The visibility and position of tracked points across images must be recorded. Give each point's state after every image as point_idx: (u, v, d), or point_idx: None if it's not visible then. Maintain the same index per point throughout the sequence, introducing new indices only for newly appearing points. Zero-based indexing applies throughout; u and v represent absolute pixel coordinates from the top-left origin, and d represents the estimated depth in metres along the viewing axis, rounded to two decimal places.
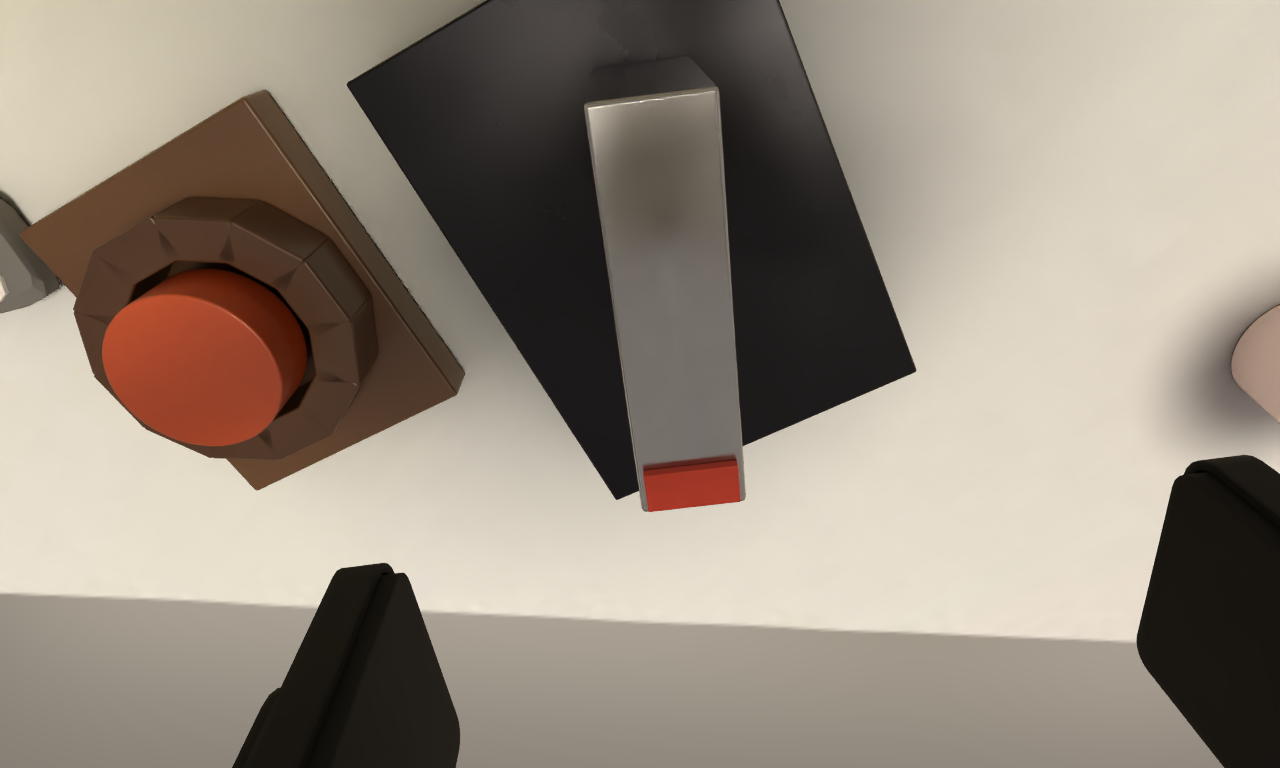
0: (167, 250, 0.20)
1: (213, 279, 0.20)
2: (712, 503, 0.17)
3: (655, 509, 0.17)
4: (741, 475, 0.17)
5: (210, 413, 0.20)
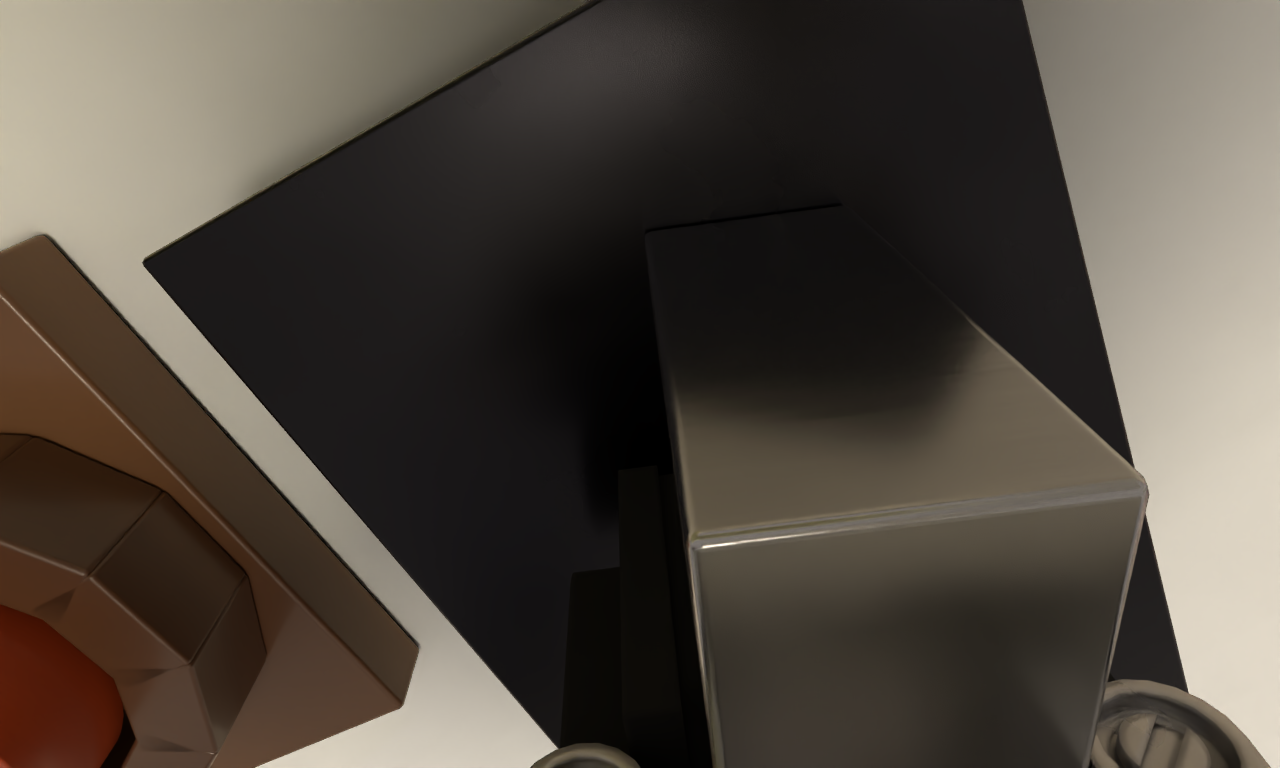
0: None
1: None
2: None
3: None
4: None
5: None
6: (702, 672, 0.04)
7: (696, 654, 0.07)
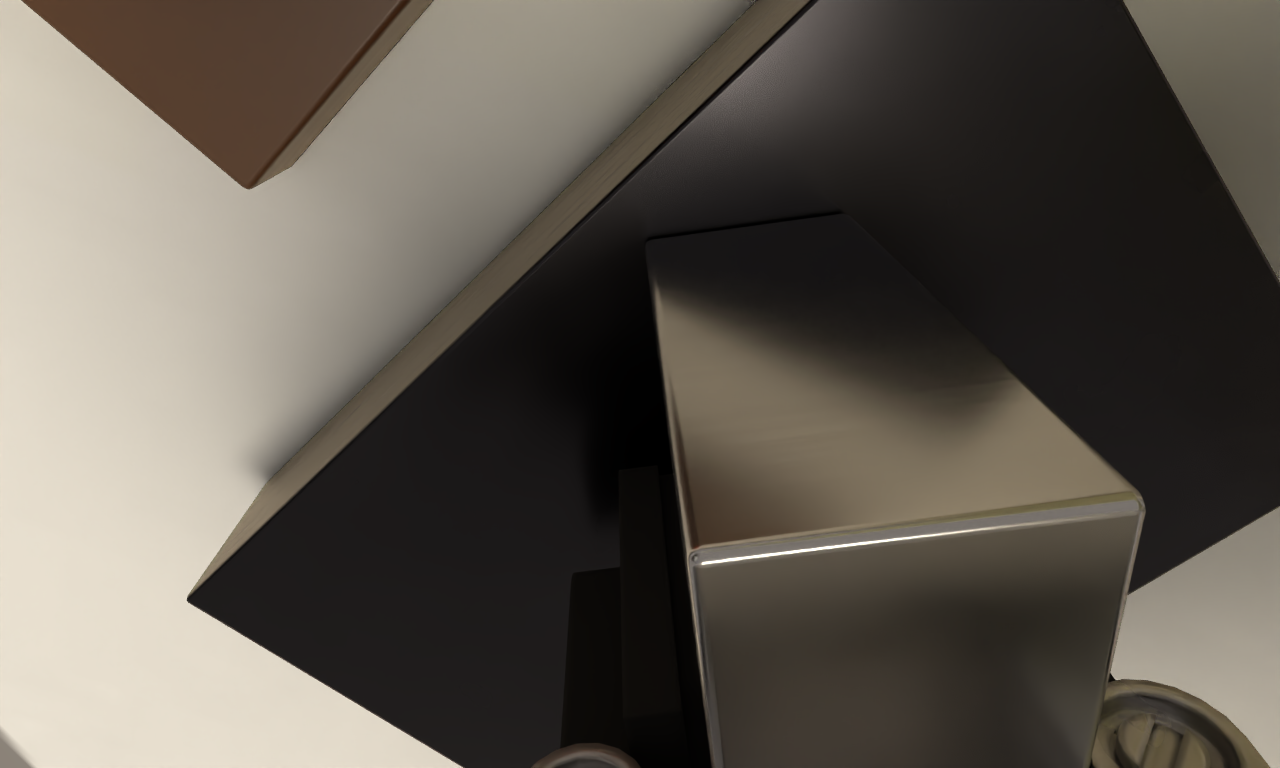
0: None
1: None
2: None
3: None
4: None
5: None
6: (702, 685, 0.04)
7: (696, 654, 0.07)
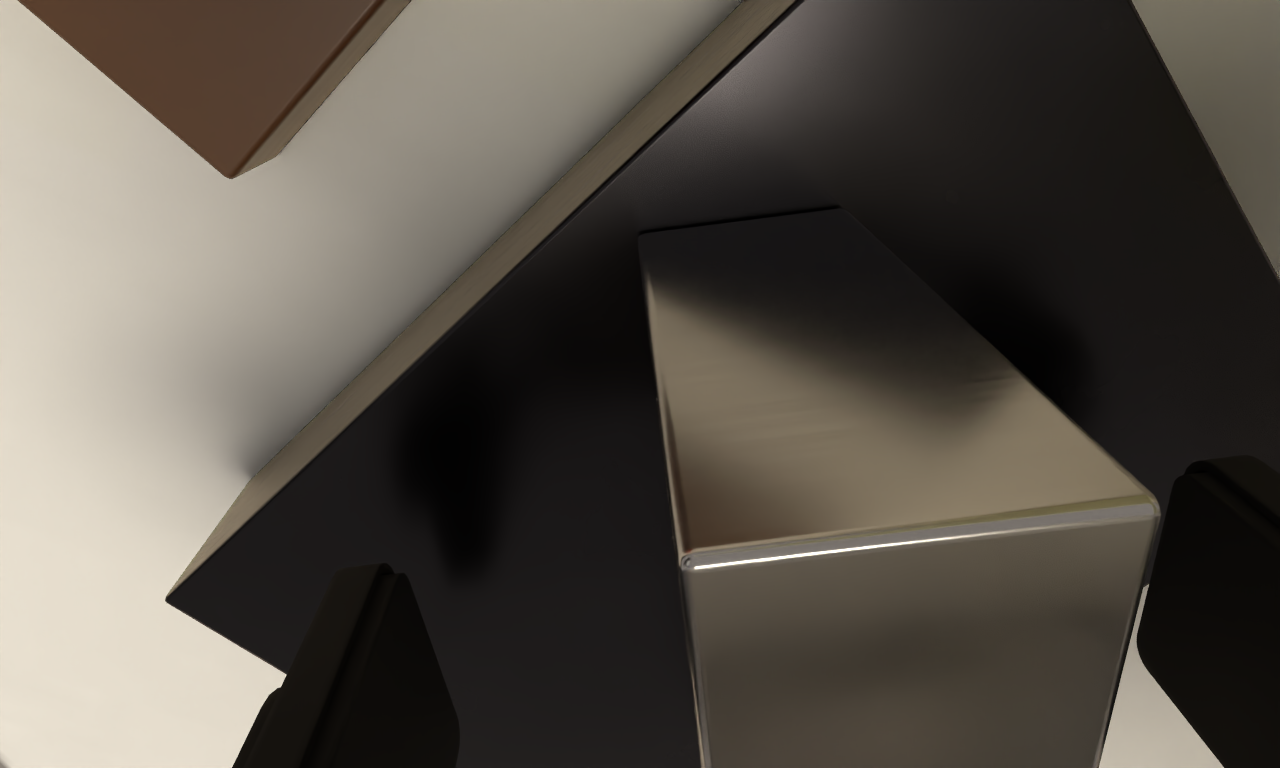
0: None
1: None
2: None
3: None
4: None
5: None
6: (693, 695, 0.04)
7: None
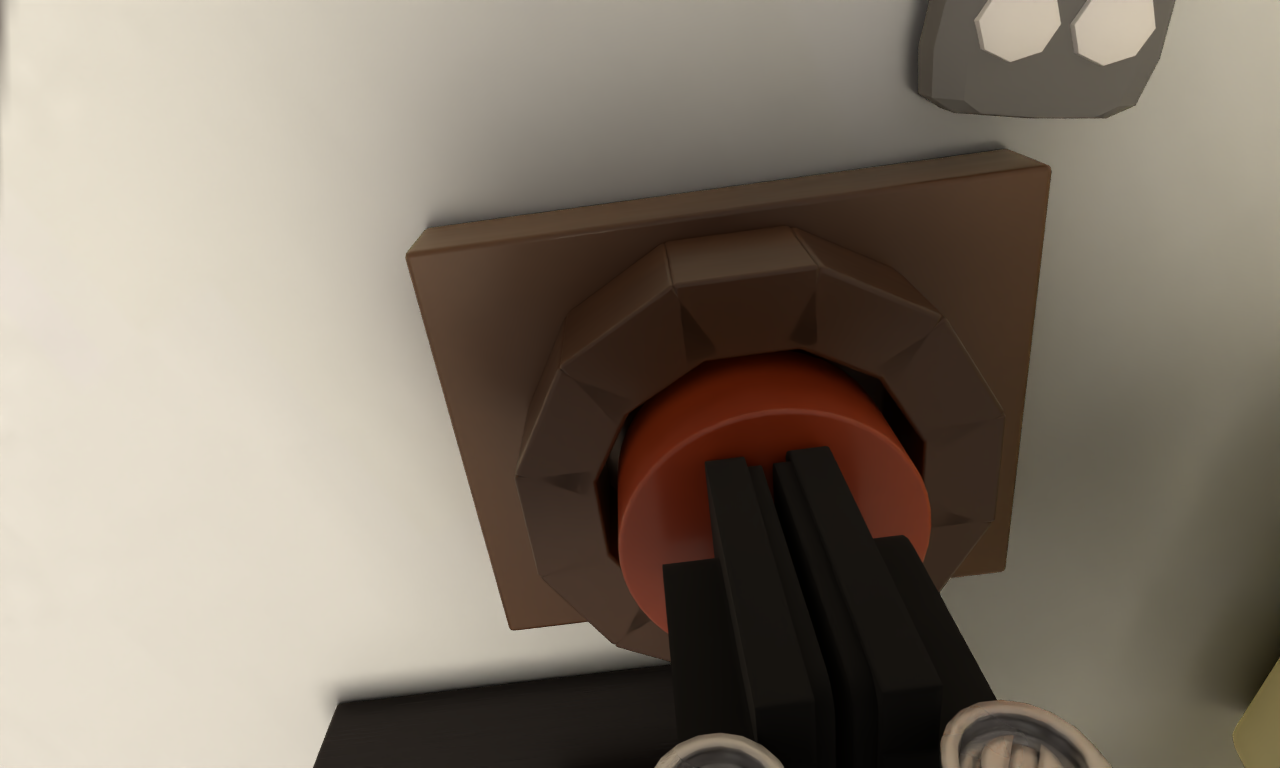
0: (941, 516, 0.12)
1: None
2: None
3: None
4: None
5: (695, 534, 0.11)
6: None
7: (817, 644, 0.07)
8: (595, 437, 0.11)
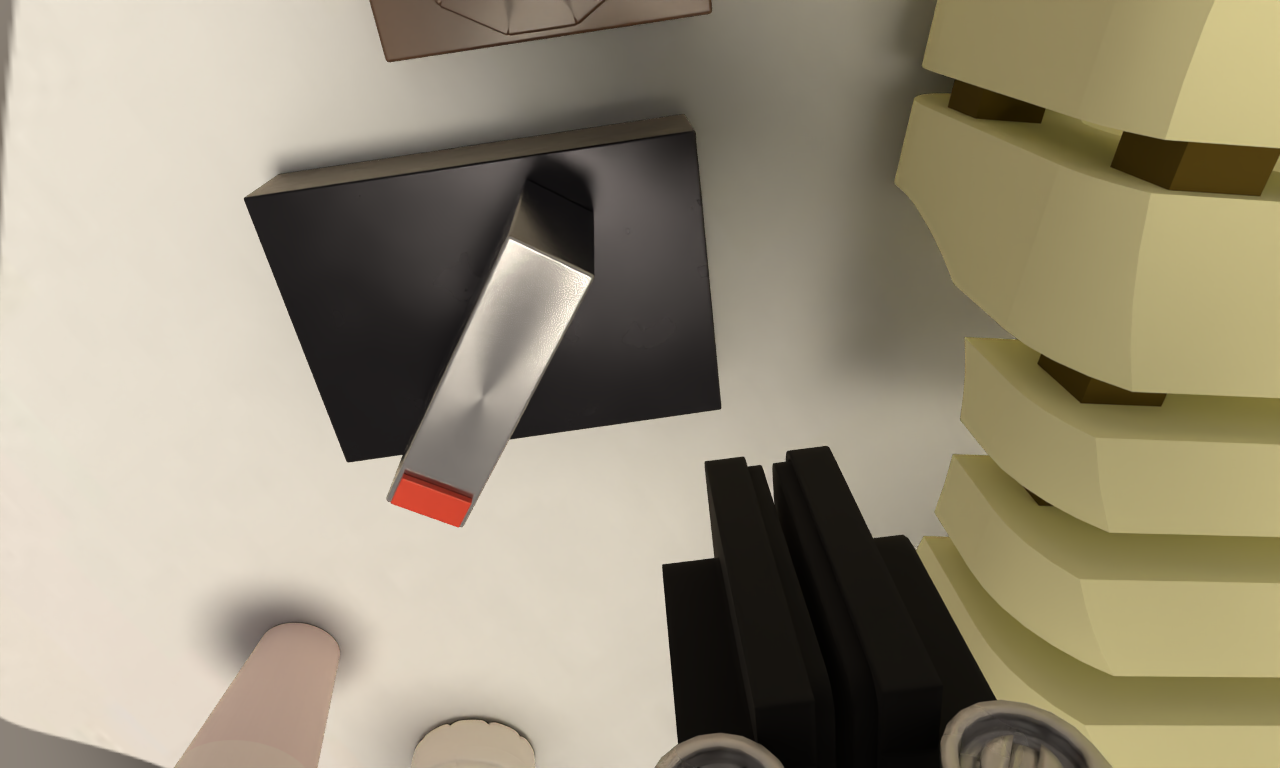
0: None
1: None
2: (438, 519, 0.22)
3: (396, 504, 0.22)
4: (469, 510, 0.23)
5: None
6: (491, 269, 0.19)
7: (816, 644, 0.07)
8: None
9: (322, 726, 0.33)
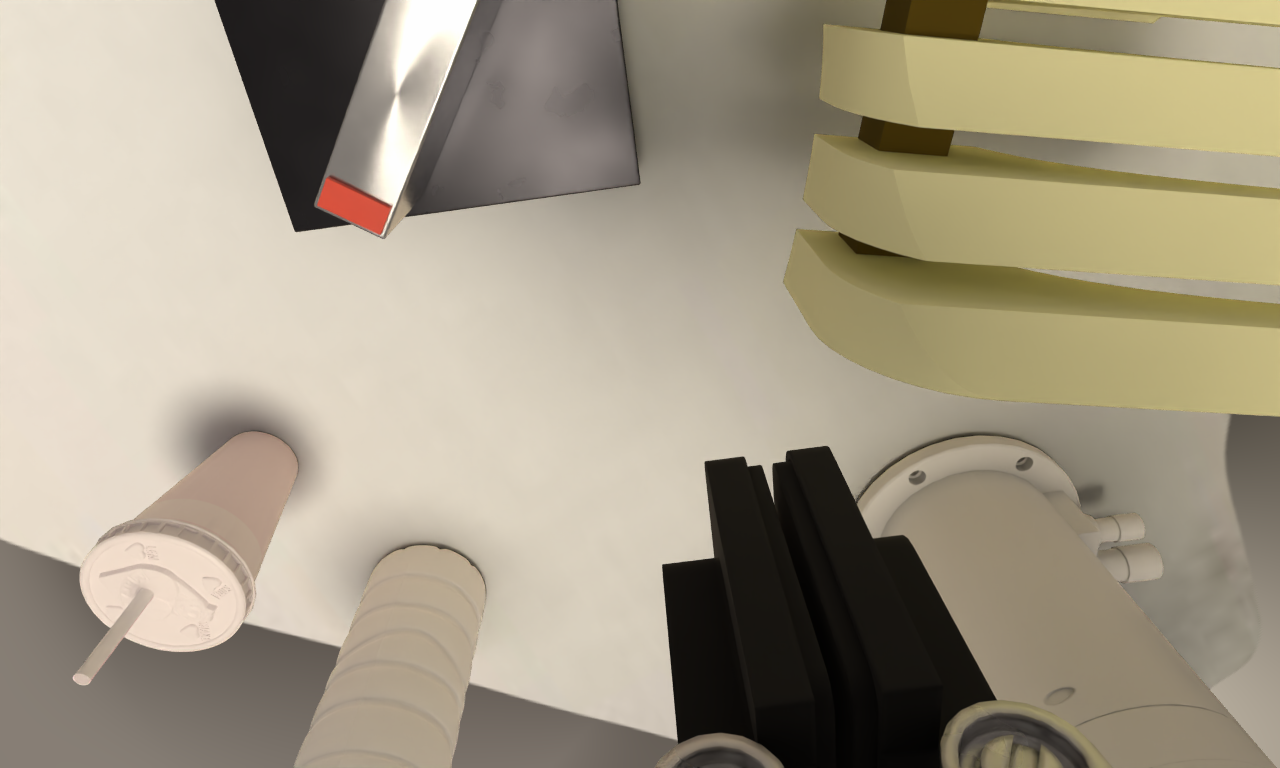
0: None
1: None
2: (361, 225, 0.25)
3: (322, 206, 0.24)
4: (389, 219, 0.25)
5: None
6: None
7: (817, 644, 0.07)
8: None
9: (274, 513, 0.35)
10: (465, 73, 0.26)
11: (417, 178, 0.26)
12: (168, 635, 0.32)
